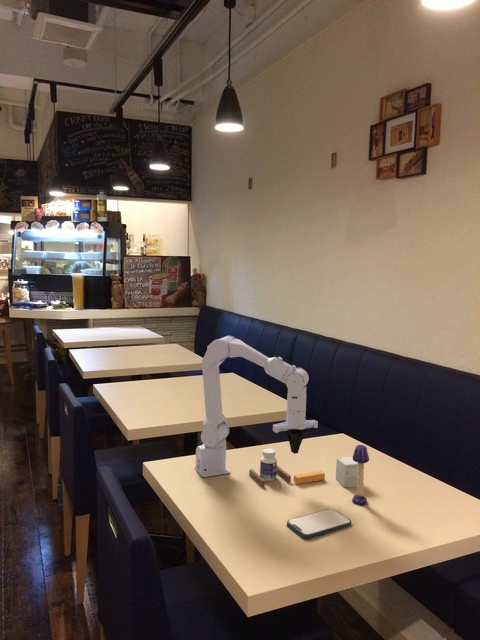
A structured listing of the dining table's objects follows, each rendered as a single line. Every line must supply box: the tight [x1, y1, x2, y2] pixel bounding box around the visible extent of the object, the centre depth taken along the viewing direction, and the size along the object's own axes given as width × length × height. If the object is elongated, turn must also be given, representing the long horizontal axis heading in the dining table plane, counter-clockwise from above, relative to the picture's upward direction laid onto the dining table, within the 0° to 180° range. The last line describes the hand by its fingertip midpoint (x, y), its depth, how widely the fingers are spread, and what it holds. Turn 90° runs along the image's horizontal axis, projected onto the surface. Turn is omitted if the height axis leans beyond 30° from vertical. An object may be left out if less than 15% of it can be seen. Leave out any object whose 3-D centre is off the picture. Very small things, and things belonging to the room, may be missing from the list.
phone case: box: [286, 508, 352, 541], centre depth 134 cm, size 9×2×16 cm
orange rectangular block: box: [293, 470, 326, 485], centre depth 161 cm, size 10×2×2 cm, turn 114°
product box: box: [335, 456, 358, 488], centre depth 160 cm, size 6×6×7 cm
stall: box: [248, 465, 292, 488], centre depth 162 cm, size 10×9×2 cm
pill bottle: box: [259, 448, 278, 482], centre depth 162 cm, size 5×5×9 cm
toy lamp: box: [351, 444, 370, 506], centre depth 147 cm, size 5×5×17 cm
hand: (294, 452), depth 157 cm, fingers closed
